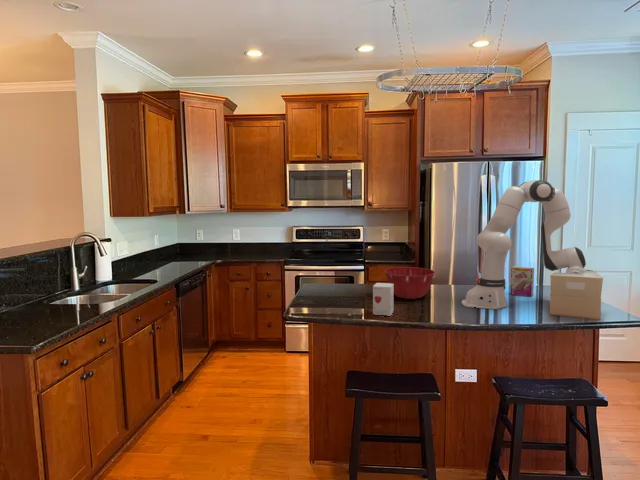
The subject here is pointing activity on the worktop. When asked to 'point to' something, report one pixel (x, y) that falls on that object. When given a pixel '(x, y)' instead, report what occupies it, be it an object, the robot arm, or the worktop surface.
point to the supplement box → (383, 299)
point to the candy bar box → (522, 281)
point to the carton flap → (576, 286)
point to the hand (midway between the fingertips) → (575, 281)
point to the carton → (575, 307)
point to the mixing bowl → (410, 281)
